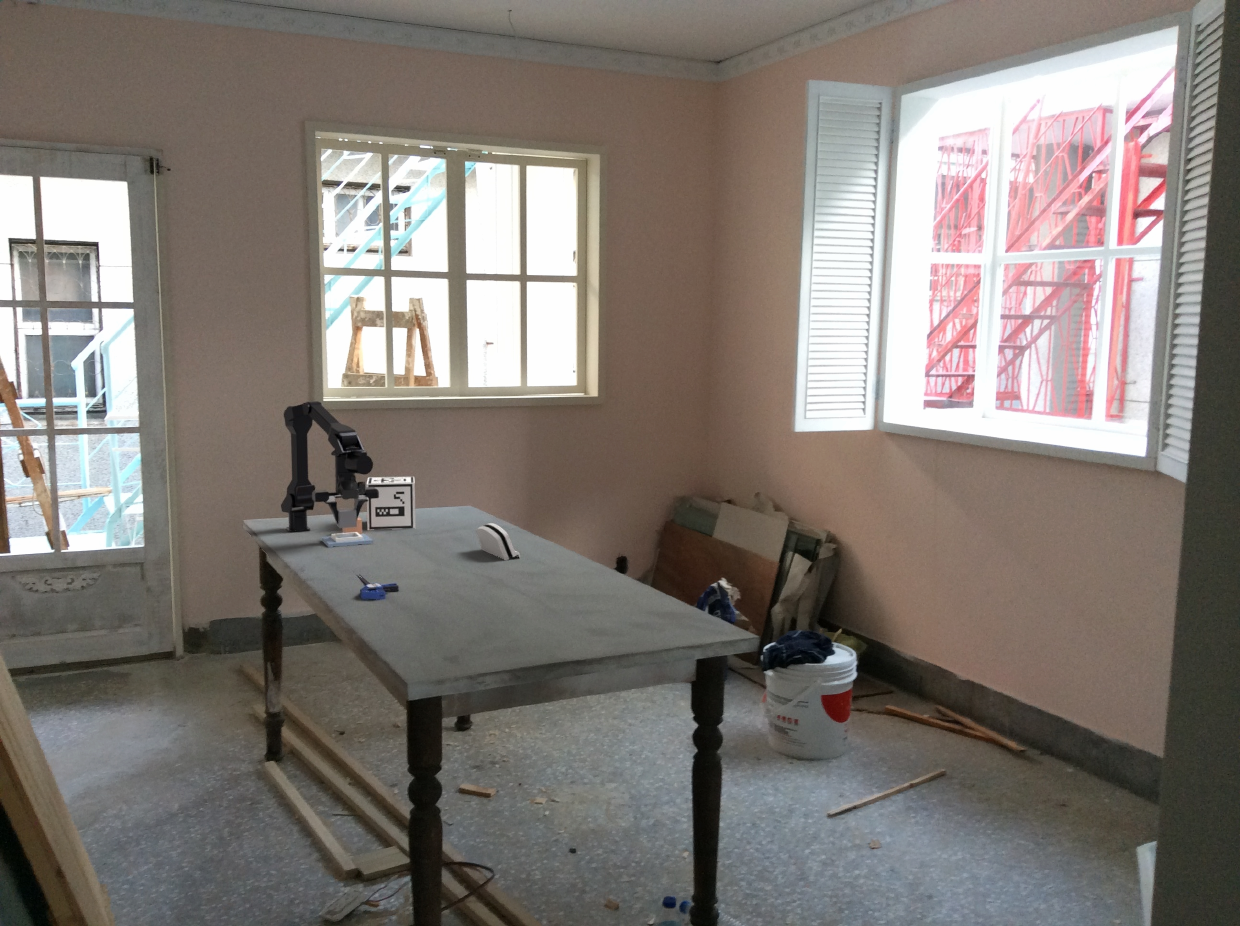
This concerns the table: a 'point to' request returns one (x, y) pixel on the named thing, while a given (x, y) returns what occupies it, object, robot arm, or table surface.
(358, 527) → the terracotta cube
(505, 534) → the striped white half-disc
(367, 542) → the board
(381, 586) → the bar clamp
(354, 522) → the charcoal cube
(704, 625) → the table surface
